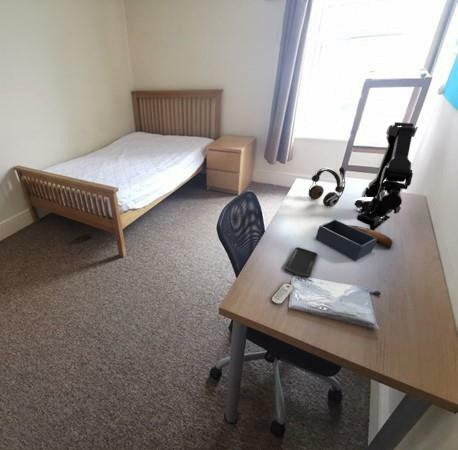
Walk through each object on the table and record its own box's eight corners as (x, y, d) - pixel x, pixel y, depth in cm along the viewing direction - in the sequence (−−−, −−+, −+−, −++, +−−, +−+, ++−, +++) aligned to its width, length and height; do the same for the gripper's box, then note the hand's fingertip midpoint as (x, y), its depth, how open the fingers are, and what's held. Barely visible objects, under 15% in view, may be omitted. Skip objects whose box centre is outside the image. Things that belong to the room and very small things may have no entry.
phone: (284, 267, 97) (296, 246, 107) (284, 270, 97) (295, 248, 107) (309, 276, 92) (318, 253, 102) (308, 278, 93) (318, 255, 103)
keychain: (285, 281, 92) (294, 286, 90) (285, 282, 92) (294, 287, 90) (270, 299, 85) (280, 304, 84) (270, 300, 86) (279, 305, 84)
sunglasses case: (392, 238, 110) (398, 230, 104) (387, 253, 108) (392, 245, 103) (341, 224, 120) (343, 216, 115) (335, 237, 118) (337, 229, 113)
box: (330, 232, 116) (334, 219, 112) (371, 252, 104) (377, 238, 100) (315, 239, 112) (319, 225, 109) (355, 261, 100) (362, 246, 97)
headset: (342, 209, 132) (357, 169, 121) (330, 212, 130) (344, 171, 119) (314, 194, 146) (325, 157, 135) (302, 197, 144) (312, 160, 133)
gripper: (377, 183, 114) (364, 215, 123) (349, 195, 107) (337, 229, 116) (408, 193, 106) (392, 226, 114) (380, 207, 99) (365, 242, 107)
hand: (371, 230), depth 113 cm, fingers closed
